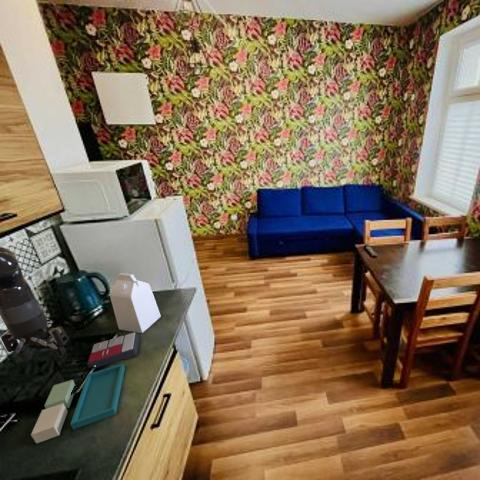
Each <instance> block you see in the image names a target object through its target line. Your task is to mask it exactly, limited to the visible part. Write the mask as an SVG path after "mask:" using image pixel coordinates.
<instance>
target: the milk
mask: <svg viewBox="0 0 480 480" xmlns="http://www.w3.org/2000/svg"><path fill="white" fill-rule="evenodd" d="M109 297H110V302H111V305H112V309H113V313H114V316H115V320H116V324H117V327H118V328H117V329H118V330H120V331H127V332H131V333H134V332H137V333H138V334H139V333H140V334H143V333H145V332H146V331H147V330H148V329H149V328H150V327H151V326H153V324H154V323H155V322H157V320H159V319H160V318H161V317H162V316H161V313H160V310H159V307H158V304H157V301H156V298H155V296H154V293H153V290H152V287H151V285H150V284H149V283H148V282H145V281H141V280H138V279H137V278H136V277H135V275H134V274H133V273H126V272H119V273H118V274H117V280H116V282H115V283H114V285H113V287H112V288H111V291H110V293H109Z"/></svg>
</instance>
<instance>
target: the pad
mask: <svg viewBox="0 0 480 480" xmlns="http://www.w3.org/2000/svg"><path fill="white" fill-rule="evenodd" d="M68 412H69V411H68V408H66V407H65V406H64V404H59V405H56V406H53V407H50V408H47V409H46V408H44V409H42V410H41V412H40V413H39V416H38V418H37V420H36V422H35V425H34V427H33V429H32V431H31V433H30V436H31V438H32V439H33V441H34V442H35V443H36V444H39V443H42V442H44V441H47V440H50V439H53V438H56V437H58V436H60V435H61V431H62V428H63V425H64V423H65V420H66V418H67V415H68Z"/></svg>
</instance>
